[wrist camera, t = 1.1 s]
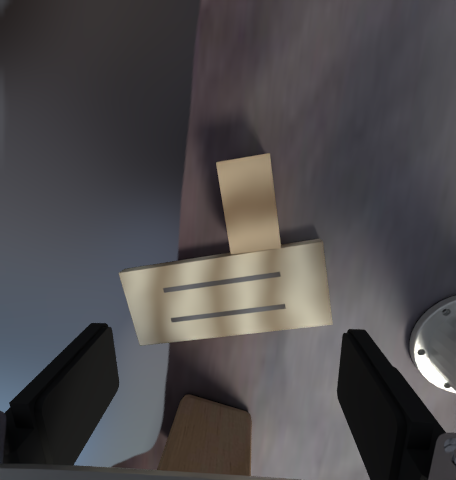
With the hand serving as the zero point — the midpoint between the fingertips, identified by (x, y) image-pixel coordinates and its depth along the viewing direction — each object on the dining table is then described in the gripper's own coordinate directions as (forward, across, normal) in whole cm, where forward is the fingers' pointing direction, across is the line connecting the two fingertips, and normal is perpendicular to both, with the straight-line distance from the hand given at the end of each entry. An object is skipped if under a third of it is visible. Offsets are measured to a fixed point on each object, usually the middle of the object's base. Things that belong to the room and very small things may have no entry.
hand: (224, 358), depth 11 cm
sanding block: (+22, -1, -4) cm, 22 cm away
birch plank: (+21, +2, +7) cm, 22 cm away
